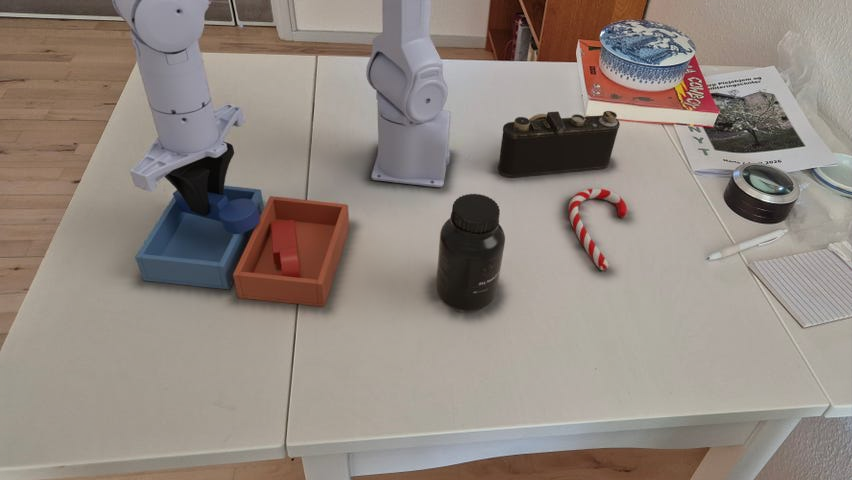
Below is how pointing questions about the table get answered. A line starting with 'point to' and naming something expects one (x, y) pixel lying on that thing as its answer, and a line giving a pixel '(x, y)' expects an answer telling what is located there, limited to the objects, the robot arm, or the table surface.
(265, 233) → the red bin
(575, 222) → the candy cane
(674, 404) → the table surface
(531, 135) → the camera
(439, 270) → the supplement bottle
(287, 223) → the red spoon
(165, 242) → the blue bin
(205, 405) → the table surface
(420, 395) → the table surface
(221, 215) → the blue spoon
